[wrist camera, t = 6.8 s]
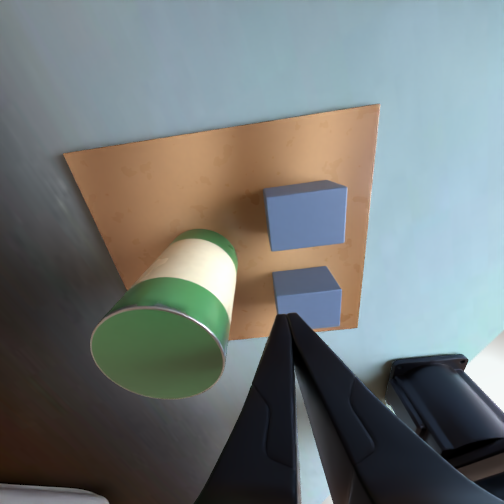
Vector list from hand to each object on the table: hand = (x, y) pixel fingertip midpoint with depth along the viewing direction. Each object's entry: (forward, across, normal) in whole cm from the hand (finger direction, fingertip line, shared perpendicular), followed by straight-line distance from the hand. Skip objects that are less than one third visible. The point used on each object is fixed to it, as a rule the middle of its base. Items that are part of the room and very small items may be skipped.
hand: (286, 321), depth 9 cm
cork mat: (+7, +2, 0) cm, 8 cm away
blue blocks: (+7, -2, 0) cm, 7 cm away
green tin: (+6, +2, 0) cm, 6 cm away
